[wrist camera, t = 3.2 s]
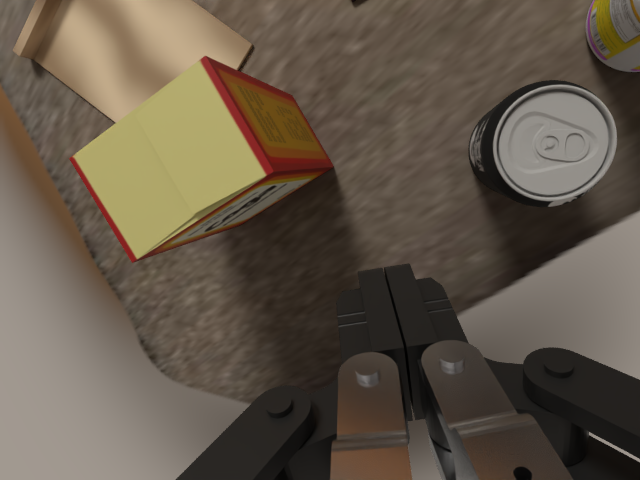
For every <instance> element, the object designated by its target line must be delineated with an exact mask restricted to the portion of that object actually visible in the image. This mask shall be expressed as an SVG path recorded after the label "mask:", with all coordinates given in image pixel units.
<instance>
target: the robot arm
mask: <svg viewBox="0 0 640 480" xmlns="http://www.w3.org/2000/svg"><path fill="white" fill-rule="evenodd" d="M384 273H385V275H384ZM358 277H359V283H360V289H355V290H349V291H342V293H341V295H340V297H339V299H338V301H337V303H336V305H337V315H338V326H339V337H340V347H341V358H342V366H341V368H340V370H339V374H338V377H337V378H336V379H335V380H334V381H333V382H332V383H331V384H330V385H328V386H327V387H325V388H323V389H321V390H319V391H317V392H314V393H312V394H309V395H307V393H306V392H305V391H303V390H302V389H300V388H298V387H294V386H279V387H275V388H272V389H270V390H268V391H266V392H264V393H263V394H261V395H260V396H259V397H258V398H257V399H256V400H255V401H254V402H253V403H252V404H251V405H250V406H249V407H248V408H247V409H246V410H245V411H244V412H243V413H242V414H241V415H240V416H239V417H238V418H237V419H236V420H235V421H234V422H233V423H232V424H231V425H230V426H229V427H228V428H227V429H226V430H225V431H224V432H223V433H222V434H221V435H220V436H219V437H218V438H217V439H216V440H215V441H214V442H213V443H212V444H211V445H210V446H209V447H208V448H207V449H206V450H205V451H204V452H203V453H202V454H201V455H200V456H199V457H198V458H197V459H196V460H195V461H194V462H193V463H192V464H191V465H190V466H189V467H188V468H187V469H186V470H185V471H184V472H183V473H182V474H181V475H180V476H179V477H178V478H177V479H176V480H412V473H411V466H410V458H409V450H408V444H409V430H408V421H412V420H413V419H412V410H411V405H412V409H413V413H414V417H415V420H419V419H425V420H426V424H427V427H428V433H429V443H430V448H431V451H432V454H433V456H434V459H435V462H436V464H437V467H438V470H439V473H440V475H441V478H442V480H640V462H638V461H636V460H634V459H632V458H630V457H629V456H627V455H625V454H623V453H621V452H619V451H617V450H615V449H614V448H612V447H610V446H608V445H606V444H604V443H602V442H601V441H599V440H597V439H595V438H593V437H591V436H589V432H591V433H593V434H594V435H596V436H598V437H600V438H602V439H604V440H606V441H608V442H610V443H612V444H613V445H615V446H617V447H619V448H621V449H623V450H625V451H627V452H629V453H630V454H632V455H634V456H636V457H637V458H639V459H640V380H639V379H636V378H634V377H632V376H629V375H627V374H625V373H622V372H620V371H618V370H615V369H613V368H611V367H608V366H606V365H603V364H601V363H599V362H596V361H594V360H592V359H589V358H587V357H585V356H582V355H580V354H578V353H575V352H573V351H570V350H566V349H561V348H543V349H538V350H536V351H533V352H532V353H530V354H529V355H528V356H527V357H526V359H525V360H524V363H523V364H513V363H502V362H496V361H492V360H489V359H487V358H485V357H483V355H482V354H481V352H480V351H479V350H478V349H477V348H476V347H474V346H473V345H471V344H469V343H468V341H467V339H466V336H465V334H464V332H463V330H462V328H461V325H460V323H459V321H458V319H457V316H456V314H455V312H454V310H453V309H452V306H451V303H450V301H449V300H448V297H447V295H446V292H445V290H444V288H443V286H442V285H440V284H439V283H438V282H436V281H435V280H434V279H432V278H431V277H430V278H424V279H418V280H416V279H415V277H414V274H413V271H412V269H411V266H410V264H402V265H396V266H390V267H384V272H383V268H378V269H372V270H365V271H359V272H358ZM410 401H411V402H410Z"/></svg>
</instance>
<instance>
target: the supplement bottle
mask: <svg viewBox="0 0 640 480" xmlns="http://www.w3.org/2000/svg"><path fill="white" fill-rule="evenodd" d="M586 36H587V40H588V43H589V46H590V48H591V50H592V51H593V53H594V54H595V55H596V57H597V58H598V59H599V60H600V61H602V62H603V63H604V64H606V65H607V66H609V67H611V68H614V69H616V70H620V71H626V72H640V0H593V2H592V4H591V6H590V9H589V11H588V15H587V19H586Z"/></svg>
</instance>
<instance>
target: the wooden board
mask: <svg viewBox="0 0 640 480" xmlns="http://www.w3.org/2000/svg"><path fill="white" fill-rule="evenodd" d="M252 47H253V45H252V44H251V43H250V42H248V41H247V40H246V39H244V38H243V37H241V36H240V35H239V34H237V33H236V32H235V31H233V30H232V29H230V28H229V27H228V26H226V25H225V24H224V23H222V22H221V21H220V20H218V19H217V18H215V17H214V16H213V15H211V14H210V13H209V12H207V11H206V10H204V9H203V8H202V7H200V6H199V5H198V4H196V3H195V2H193V1H192V0H36V2H35V4H34V6H33V8H32V10H31V13H30V15H29V17H28V19H27V21H26V23H25V26H24V28H23V30H22V32H21V34H20V36H19V38H18V41H17V43H16V45H15V47H14V49H13V51H14V52H15V53H16V54H18V55H19V56H21V57H25V58H29V59H33V60H35V61H36V62H37V63H39V64H40V65H41V66H43V67H44V68H45V69H46V70H48V71H49V72H50V73H52V74H53V75H54V76H56V77H57V78H58V79H59V80H61V81H62V82H63V83H65V84H66V85H67V86H69V87H70V88H71V89H72V90H74V91H75V92H76V93H78V94H79V95H80V96H82V97H83V98H84V99H85V100H87V101H88V102H89V103H91V104H92V105H93V106H95V107H96V108H97V109H99V110H100V111H101V112H102V113H104V114H105V115H106V116H108V117H109V118H110V119H112V120H113V121H114V122H115V123H117V122H118V121H120V120H121V119H122V118H123V117H125V116H126V115H127V114H129V113H130V112H131V111H133V110H134V109H135V108H137V107H138V106H139V105H141V104H142V103H143V102H145V101H146V100H147V99H149V98H150V97H151V96H153V95H154V94H155V93H157V92H158V91H159V90H160V89H162V88H163V87H164V86H166V85H167V84H168V83H170V82H171V81H172V80H174V79H175V78H176V77H178V76H179V75H180V74H182V73H183V72H184V71H186V70H187V69H188V68H190V67H191V66H192V65H194V64H195V63H196V62H198V61H199V60H200V59H201V58H203V57H204V56H207V57H210V58H212V59H214V60H216V61H218V62H221V63H223V64H225V65H227V66H229V67H231V68H234V69H236V70H239V68H240V66H241V65H242V63H243V61H244V60H245V58H246V56H247V55H248V53H249V52H250V50H251V48H252Z"/></svg>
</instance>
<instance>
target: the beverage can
mask: <svg viewBox="0 0 640 480" xmlns="http://www.w3.org/2000/svg"><path fill="white" fill-rule="evenodd" d="M616 147H617V131H616V126H615V122H614V120H613V117H612V115H611V113H610V111H609V110H608V108H607V107H606V106H605V104H604V103H603V102H602V101H601V100H600V99H599V98H598V97H597V96H596V95H595V94H593V93H592V92H591V91H589V90H587V89H586V88H584V87H582V86H579V85H577V84H574V83H570V82H566V81H558V80H550V81H541V82H536V83H533V84H530V85H527V86H524V87H522V88H520V89H518V90H517V91H515V92H513V93H512V94H510V95H509V96H508V97H507V98H505V99H504V100H503V101H502V102H500V103H499V104H498V105H497V106H496V107H494V108H493V109H492V110H491V111H489V112H488V113H487V114H486V115H485V116H484V117H483V118H482V119H481V120H480V121H479V122H478V124H477V125H476V127H475V128H474V130H473V133H472V135H471V138H470V142H469V160H470V164H471V167H472V169H473V171H474V173H475V175H476V176H477V177H478V179H479V180H480V181H481V182H482V183H483V184H484V185H486V186H487V187H489V188H490V189H492V190H494V191H496V192H498V193H500V194H502V195H504V196H507V197H509V198H511V199H513V200H515V201H517V202H519V203H522V204H525V205H530V206H536V207H551V206H557V205H562V204H565V203H568V202H571V201H573V200H575V199H577V198H579V197H581V196H583V195H584V194H586V193H587V192H588V191H590V190H591V189H592V188H593V187H594V186H595V185H596V184H597V183H598V182H599V181H600V180H601V178H602V177H603V176H604V174H605V173H606V171H607V170H608V168H609V167H610V165H611V163H612V160H613V158H614V155H615V151H616Z"/></svg>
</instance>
